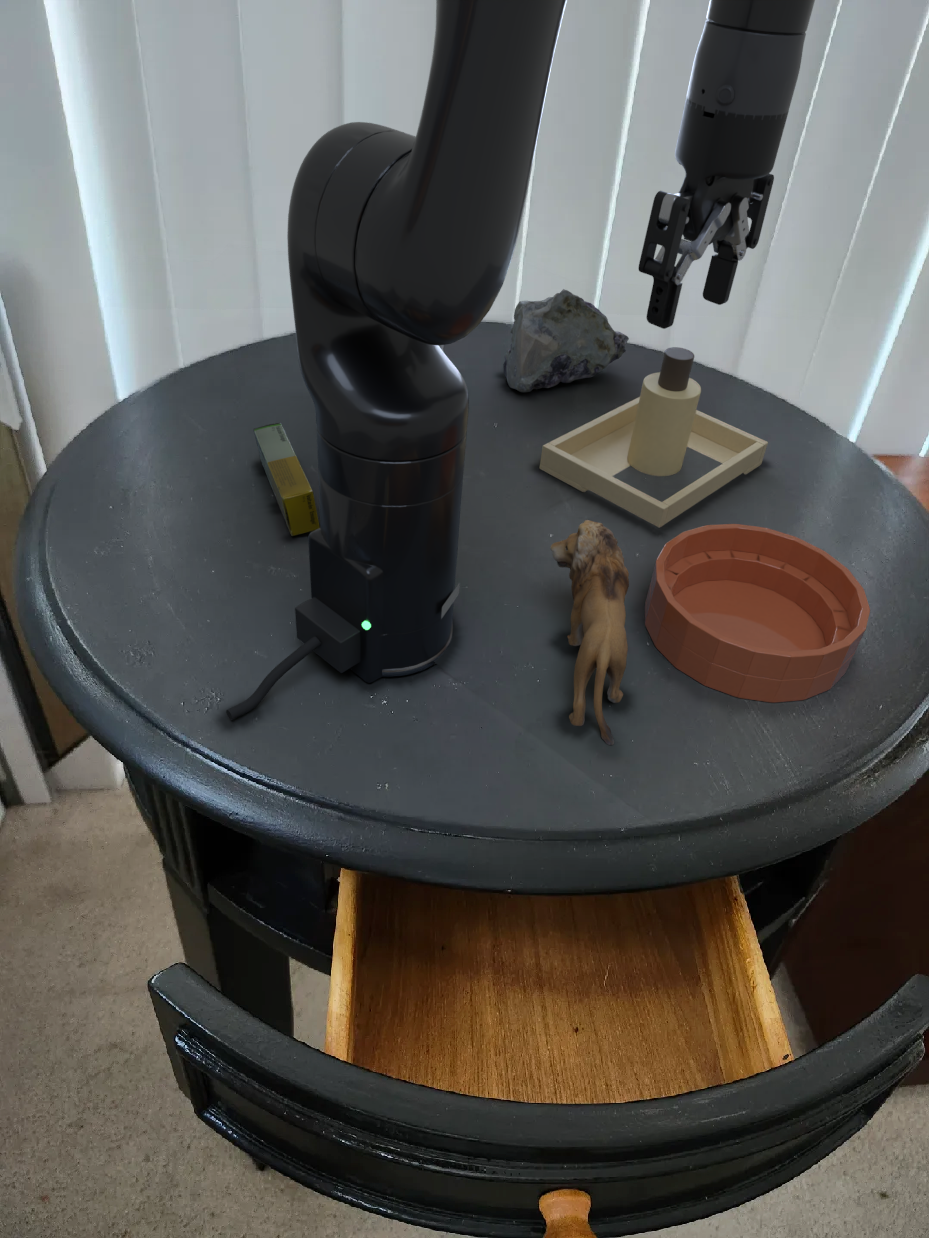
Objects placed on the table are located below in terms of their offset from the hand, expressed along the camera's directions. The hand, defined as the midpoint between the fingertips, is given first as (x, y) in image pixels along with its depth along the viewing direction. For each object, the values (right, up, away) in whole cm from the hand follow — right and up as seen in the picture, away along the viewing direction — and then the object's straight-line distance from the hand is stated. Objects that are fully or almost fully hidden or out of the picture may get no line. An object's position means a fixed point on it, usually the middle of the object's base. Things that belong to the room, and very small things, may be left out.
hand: (687, 313), depth 78 cm
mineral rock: (-8, 0, +22) cm, 24 cm away
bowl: (+2, -27, -8) cm, 29 cm away
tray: (-1, -11, +10) cm, 15 cm away
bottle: (-1, -11, +10) cm, 15 cm away
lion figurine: (-10, -30, -12) cm, 34 cm away
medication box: (-34, -16, +2) cm, 38 cm away
